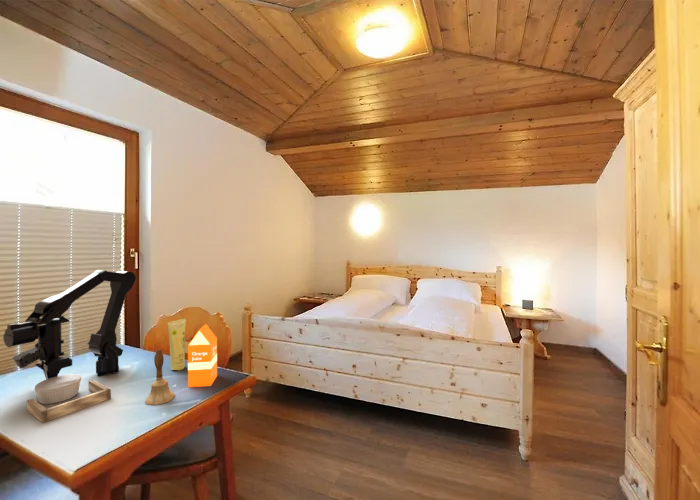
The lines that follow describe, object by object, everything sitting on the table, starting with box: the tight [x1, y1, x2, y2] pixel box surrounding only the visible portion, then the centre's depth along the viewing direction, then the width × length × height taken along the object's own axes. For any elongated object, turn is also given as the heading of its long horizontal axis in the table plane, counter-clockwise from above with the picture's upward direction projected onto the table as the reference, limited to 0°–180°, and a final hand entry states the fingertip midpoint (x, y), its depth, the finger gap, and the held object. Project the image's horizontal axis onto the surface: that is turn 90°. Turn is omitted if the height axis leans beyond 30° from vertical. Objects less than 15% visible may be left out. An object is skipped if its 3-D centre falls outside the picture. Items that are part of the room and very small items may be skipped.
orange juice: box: [187, 323, 218, 388], centre depth 115 cm, size 8×9×20 cm
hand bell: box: [144, 348, 176, 406], centre depth 102 cm, size 8×8×16 cm
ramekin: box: [34, 373, 82, 405], centre depth 103 cm, size 11×11×5 cm
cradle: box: [26, 379, 112, 423], centre depth 99 cm, size 16×13×3 cm
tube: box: [167, 318, 187, 371], centre depth 126 cm, size 6×5×20 cm
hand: (50, 384), depth 106 cm, fingers closed
